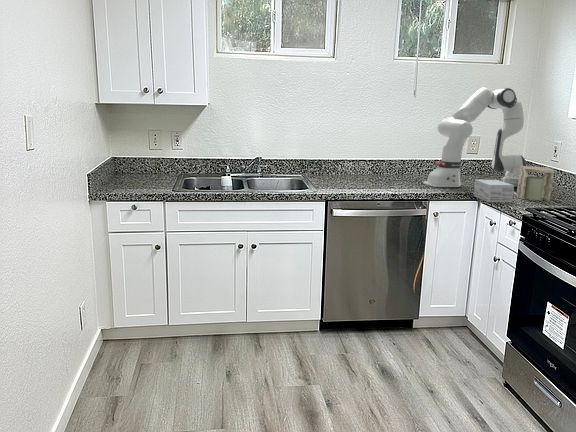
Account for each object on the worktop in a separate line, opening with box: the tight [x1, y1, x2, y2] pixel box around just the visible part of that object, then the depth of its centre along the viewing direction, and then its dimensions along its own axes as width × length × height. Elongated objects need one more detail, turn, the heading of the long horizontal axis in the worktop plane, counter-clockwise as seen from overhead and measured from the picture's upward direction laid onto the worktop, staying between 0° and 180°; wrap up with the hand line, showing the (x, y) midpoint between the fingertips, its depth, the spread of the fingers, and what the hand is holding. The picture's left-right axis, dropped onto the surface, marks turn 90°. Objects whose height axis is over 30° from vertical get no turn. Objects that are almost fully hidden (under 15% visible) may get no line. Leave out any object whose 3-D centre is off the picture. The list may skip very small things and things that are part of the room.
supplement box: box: [473, 179, 515, 204], centre depth 267 cm, size 17×13×9 cm
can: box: [524, 176, 545, 201], centre depth 271 cm, size 9×9×12 cm
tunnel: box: [513, 165, 555, 202], centre depth 278 cm, size 24×14×16 cm, turn 171°
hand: (525, 183), depth 286 cm, fingers closed
